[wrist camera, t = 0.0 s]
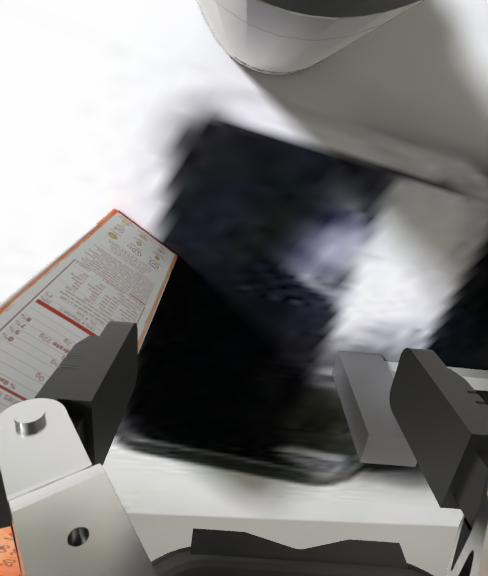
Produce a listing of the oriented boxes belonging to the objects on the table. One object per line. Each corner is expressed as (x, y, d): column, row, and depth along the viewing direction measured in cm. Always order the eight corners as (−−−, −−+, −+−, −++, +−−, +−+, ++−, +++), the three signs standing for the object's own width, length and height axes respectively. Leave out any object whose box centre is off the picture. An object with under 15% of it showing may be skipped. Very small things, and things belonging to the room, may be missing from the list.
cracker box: (87, 374, 33) (-120, 729, 14) (22, 335, 32) (-308, 677, 13) (185, 256, 29) (69, 551, 10) (116, 204, 27) (-185, 434, 8)
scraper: (342, 332, 31) (376, 411, 23) (533, 349, 32) (630, 433, 24) (328, 391, 34) (353, 481, 26) (504, 406, 35) (584, 499, 26)
